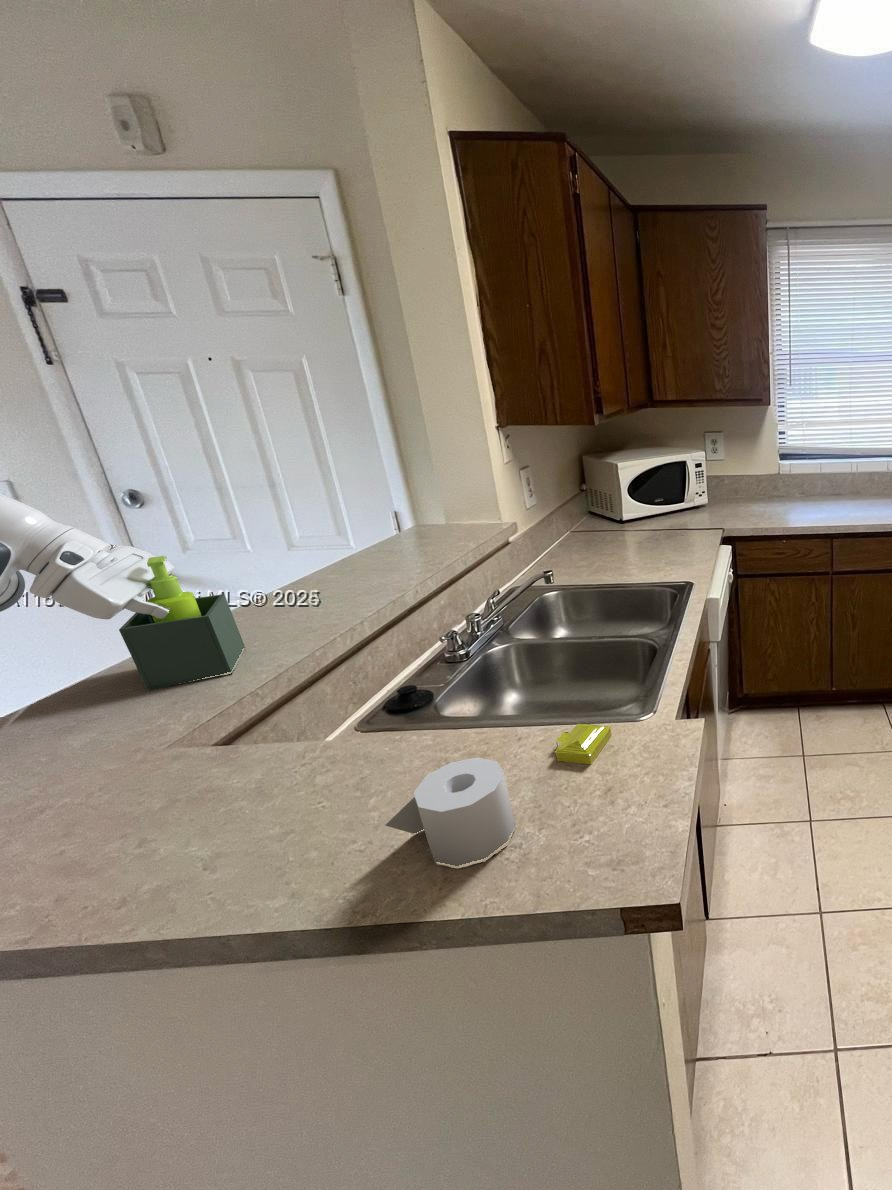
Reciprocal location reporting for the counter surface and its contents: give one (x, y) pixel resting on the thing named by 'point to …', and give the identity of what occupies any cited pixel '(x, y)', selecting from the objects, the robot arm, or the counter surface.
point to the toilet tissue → (460, 811)
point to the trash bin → (184, 644)
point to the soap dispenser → (170, 593)
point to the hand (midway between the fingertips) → (177, 606)
